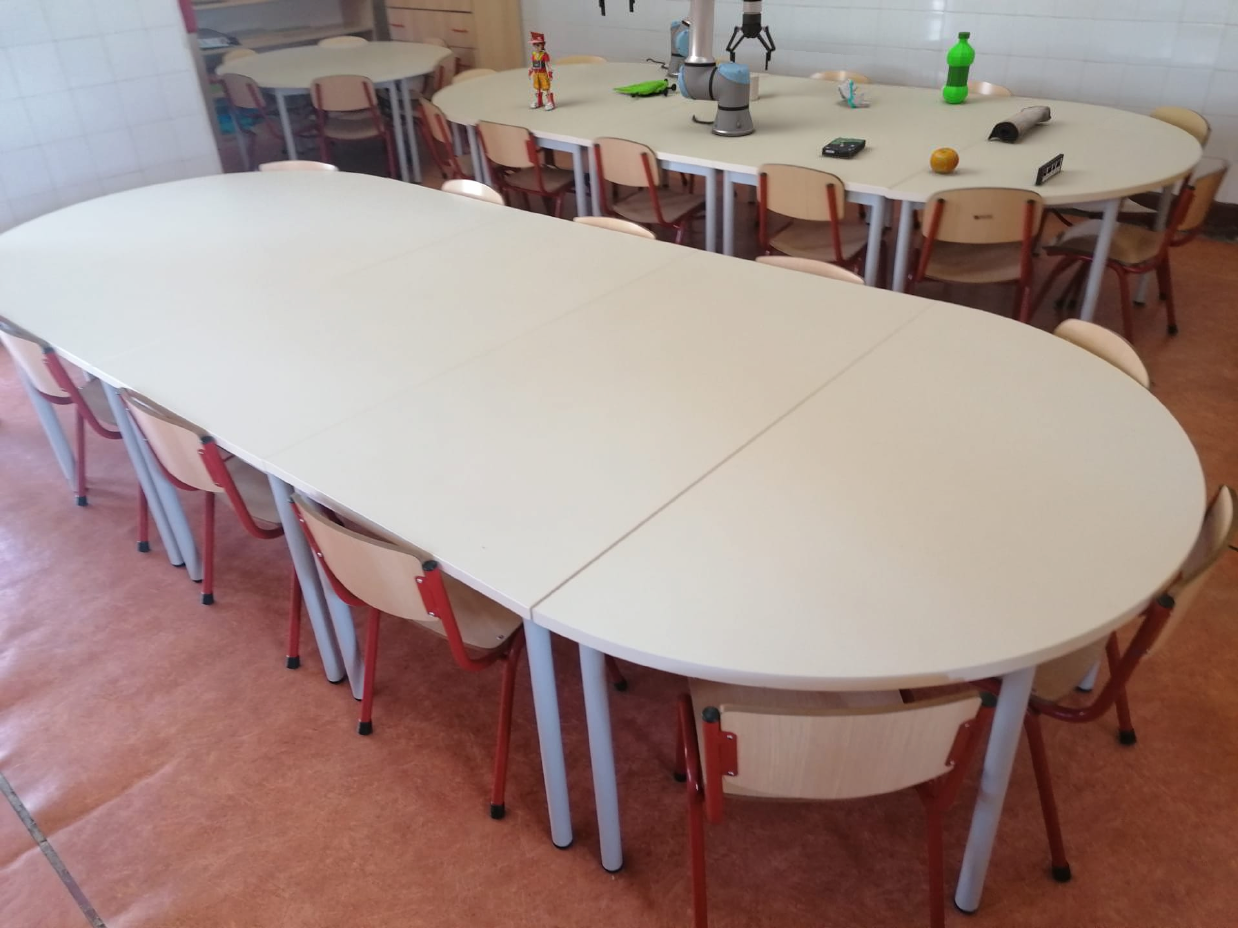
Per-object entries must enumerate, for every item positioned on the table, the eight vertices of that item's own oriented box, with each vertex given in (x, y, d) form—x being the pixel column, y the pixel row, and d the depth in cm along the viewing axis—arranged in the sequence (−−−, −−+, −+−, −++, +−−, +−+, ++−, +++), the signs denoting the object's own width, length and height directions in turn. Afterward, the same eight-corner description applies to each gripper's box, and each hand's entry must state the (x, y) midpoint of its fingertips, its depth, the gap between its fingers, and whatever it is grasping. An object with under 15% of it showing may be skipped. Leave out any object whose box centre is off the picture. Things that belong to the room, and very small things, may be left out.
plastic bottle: (973, 101, 354) (984, 32, 339) (955, 106, 349) (966, 36, 335) (952, 97, 361) (962, 29, 346) (934, 102, 356) (944, 33, 342)
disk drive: (850, 159, 300) (865, 147, 310) (851, 151, 299) (866, 139, 309) (821, 156, 305) (836, 144, 315) (821, 148, 303) (837, 136, 313)
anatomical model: (833, 78, 362) (858, 71, 361) (836, 104, 368) (860, 97, 367) (844, 86, 350) (869, 79, 349) (846, 113, 356) (871, 106, 355)
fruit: (924, 163, 281) (941, 140, 278) (925, 165, 289) (941, 143, 286) (946, 178, 280) (963, 155, 277) (947, 180, 288) (963, 158, 285)
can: (749, 95, 382) (750, 72, 376) (761, 98, 377) (762, 75, 371) (737, 99, 378) (737, 75, 373) (749, 101, 373) (750, 78, 368)
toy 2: (686, 85, 398) (631, 84, 414) (685, 72, 395) (629, 72, 411) (651, 104, 381) (596, 103, 397) (650, 92, 378) (594, 91, 394)
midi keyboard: (1039, 185, 269) (1043, 168, 266) (1035, 184, 270) (1038, 168, 267) (1060, 170, 279) (1064, 154, 277) (1056, 169, 280) (1060, 153, 277)
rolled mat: (1018, 110, 327) (1042, 93, 319) (1032, 131, 328) (1056, 115, 319) (983, 133, 310) (1008, 115, 302) (998, 155, 310) (1023, 138, 302)
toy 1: (525, 109, 381) (517, 32, 364) (534, 104, 388) (527, 28, 371) (550, 110, 377) (543, 32, 360) (559, 105, 384) (553, 28, 367)
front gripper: (784, 11, 359) (781, 68, 371) (722, 12, 364) (721, 68, 376) (782, 13, 353) (779, 71, 365) (719, 14, 358) (718, 71, 370)
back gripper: (591, -38, 375) (594, 18, 387) (645, -44, 383) (646, 11, 395) (584, -39, 381) (588, 16, 393) (637, -45, 388) (639, 9, 401)
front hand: (749, 70), depth 370 cm, fingers open, 13 cm apart
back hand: (617, 14), depth 394 cm, fingers open, 13 cm apart
